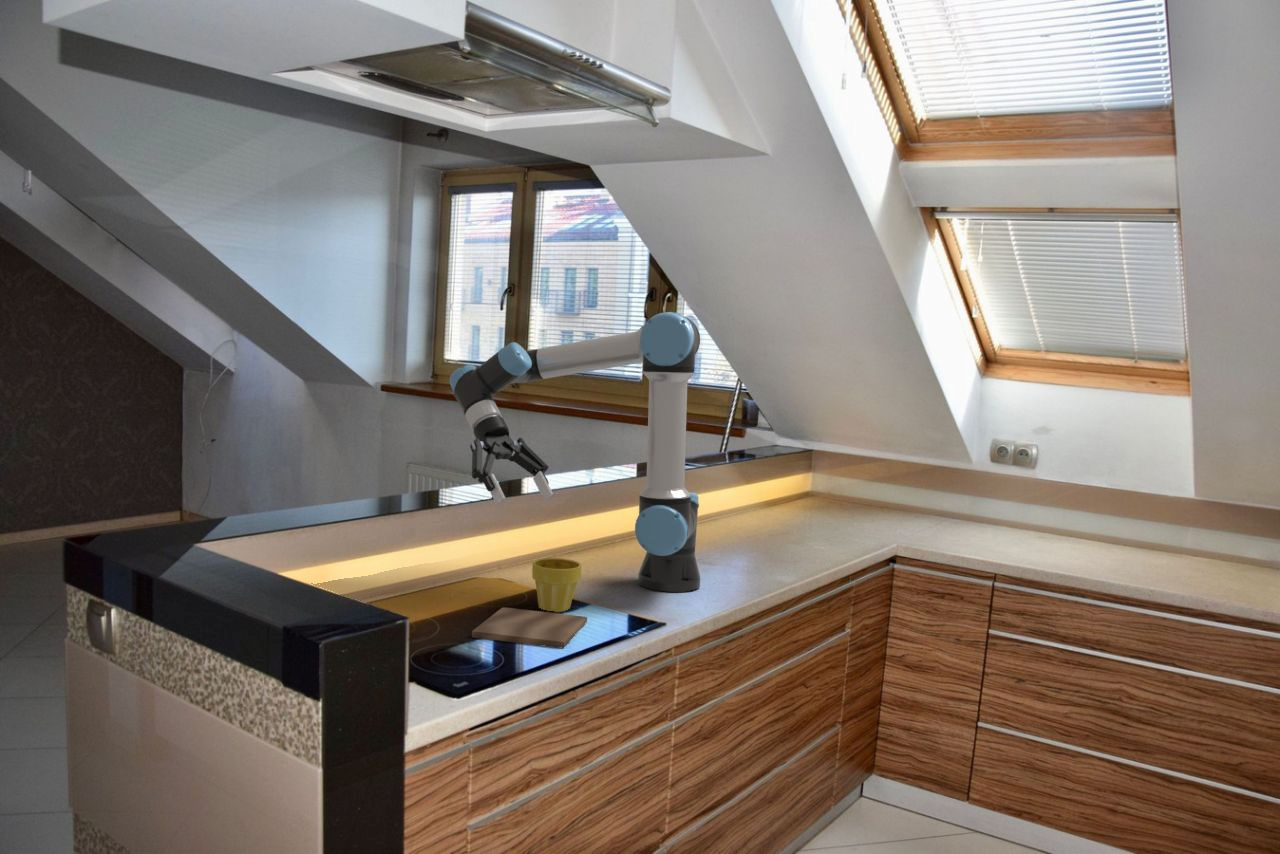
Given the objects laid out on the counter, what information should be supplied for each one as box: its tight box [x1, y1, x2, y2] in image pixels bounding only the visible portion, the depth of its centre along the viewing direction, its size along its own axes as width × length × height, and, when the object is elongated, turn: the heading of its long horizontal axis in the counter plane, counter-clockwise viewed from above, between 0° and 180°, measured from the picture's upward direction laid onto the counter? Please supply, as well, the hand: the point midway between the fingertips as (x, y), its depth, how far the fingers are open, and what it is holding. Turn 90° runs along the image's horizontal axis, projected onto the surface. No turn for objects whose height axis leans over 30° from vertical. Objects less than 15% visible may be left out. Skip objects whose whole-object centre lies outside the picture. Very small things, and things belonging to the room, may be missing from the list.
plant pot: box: [531, 557, 582, 613], centre depth 204 cm, size 10×10×10 cm
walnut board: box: [471, 606, 588, 649], centre depth 187 cm, size 18×18×1 cm
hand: (525, 500), depth 210 cm, fingers open, 13 cm apart
